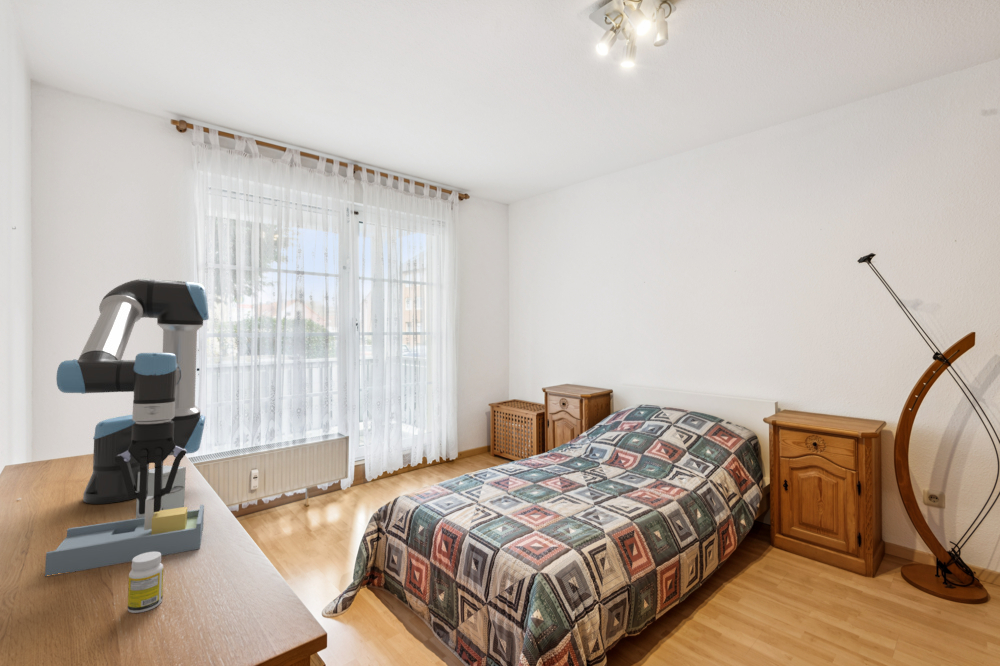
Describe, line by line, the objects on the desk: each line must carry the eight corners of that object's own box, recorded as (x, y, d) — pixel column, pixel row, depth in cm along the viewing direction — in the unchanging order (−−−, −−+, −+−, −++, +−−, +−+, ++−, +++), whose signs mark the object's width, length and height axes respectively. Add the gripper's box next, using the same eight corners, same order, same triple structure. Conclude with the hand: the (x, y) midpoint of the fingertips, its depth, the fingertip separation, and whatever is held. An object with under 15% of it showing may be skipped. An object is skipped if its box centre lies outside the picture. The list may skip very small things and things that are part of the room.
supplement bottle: (140, 598, 79) (142, 550, 79) (168, 597, 79) (170, 549, 80) (119, 614, 74) (122, 563, 74) (149, 613, 75) (152, 562, 75)
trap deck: (67, 549, 97) (68, 523, 97) (203, 526, 110) (204, 504, 110) (44, 577, 86) (46, 548, 86) (199, 548, 98) (200, 523, 99)
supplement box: (158, 524, 111) (160, 473, 112) (134, 522, 113) (136, 471, 113) (185, 514, 118) (186, 466, 119) (162, 511, 120) (163, 464, 120)
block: (154, 528, 101) (155, 511, 102) (186, 523, 104) (187, 506, 105) (151, 536, 97) (151, 518, 97) (184, 531, 100) (185, 513, 100)
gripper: (112, 425, 94) (107, 539, 93) (187, 421, 100) (183, 527, 99) (119, 420, 100) (115, 527, 99) (190, 416, 107) (186, 516, 106)
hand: (149, 527), depth 99 cm, fingers closed
